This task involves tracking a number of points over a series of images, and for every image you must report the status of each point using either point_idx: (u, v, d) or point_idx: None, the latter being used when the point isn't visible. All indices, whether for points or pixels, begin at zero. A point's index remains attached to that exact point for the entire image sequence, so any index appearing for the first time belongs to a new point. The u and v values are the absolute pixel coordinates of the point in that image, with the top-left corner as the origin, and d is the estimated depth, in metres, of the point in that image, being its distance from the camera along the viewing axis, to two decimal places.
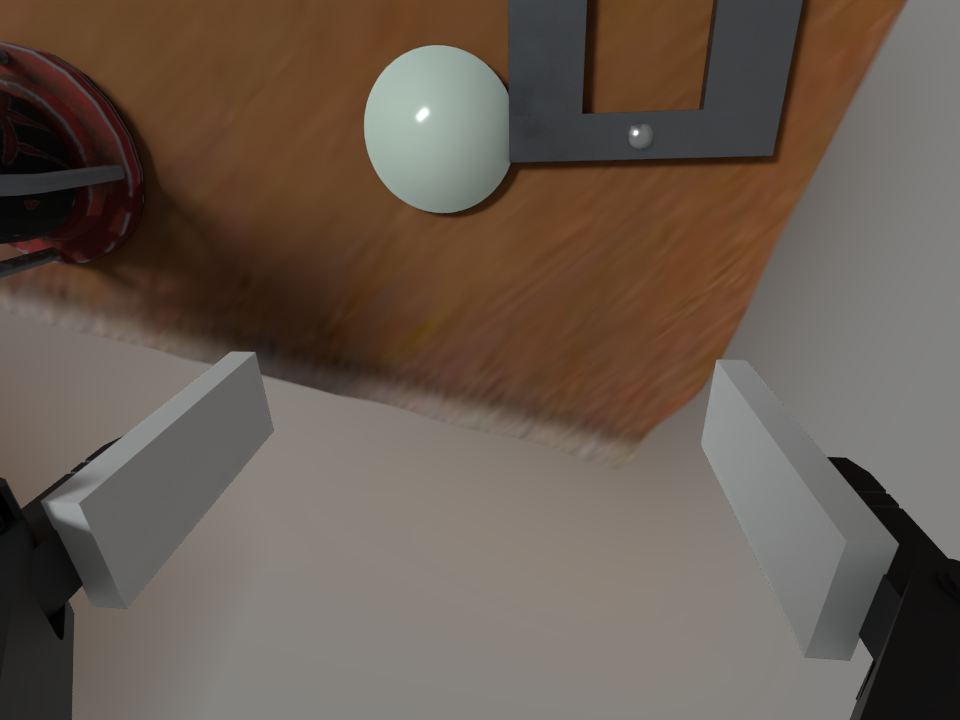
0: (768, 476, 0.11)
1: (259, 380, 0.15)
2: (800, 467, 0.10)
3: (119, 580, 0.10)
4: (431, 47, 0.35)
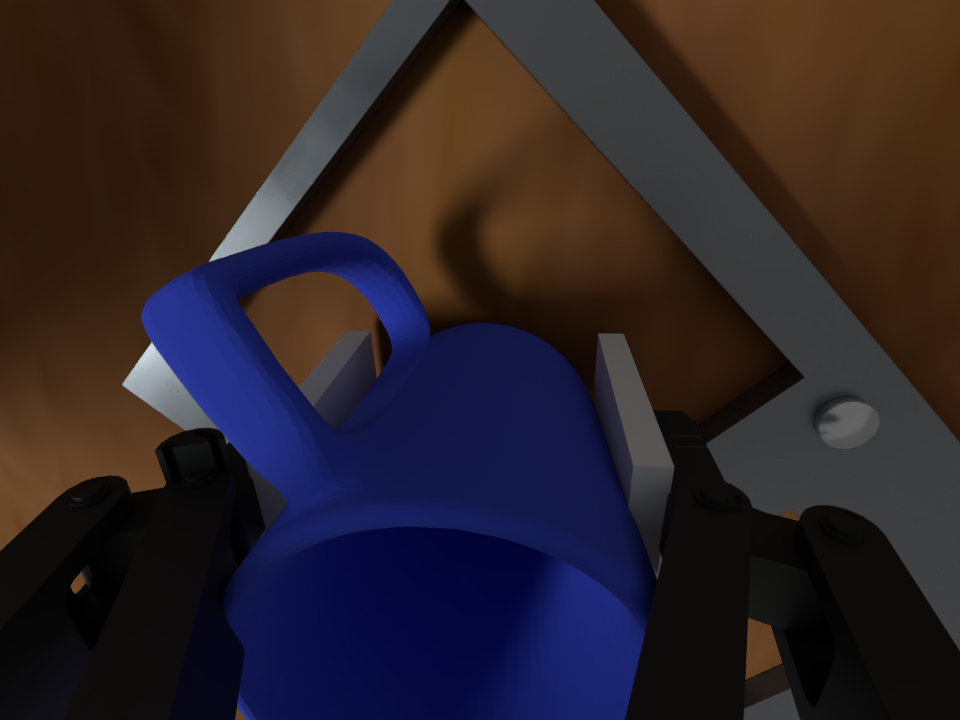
0: (612, 426, 0.13)
1: (372, 356, 0.17)
2: (626, 414, 0.12)
3: None
4: None
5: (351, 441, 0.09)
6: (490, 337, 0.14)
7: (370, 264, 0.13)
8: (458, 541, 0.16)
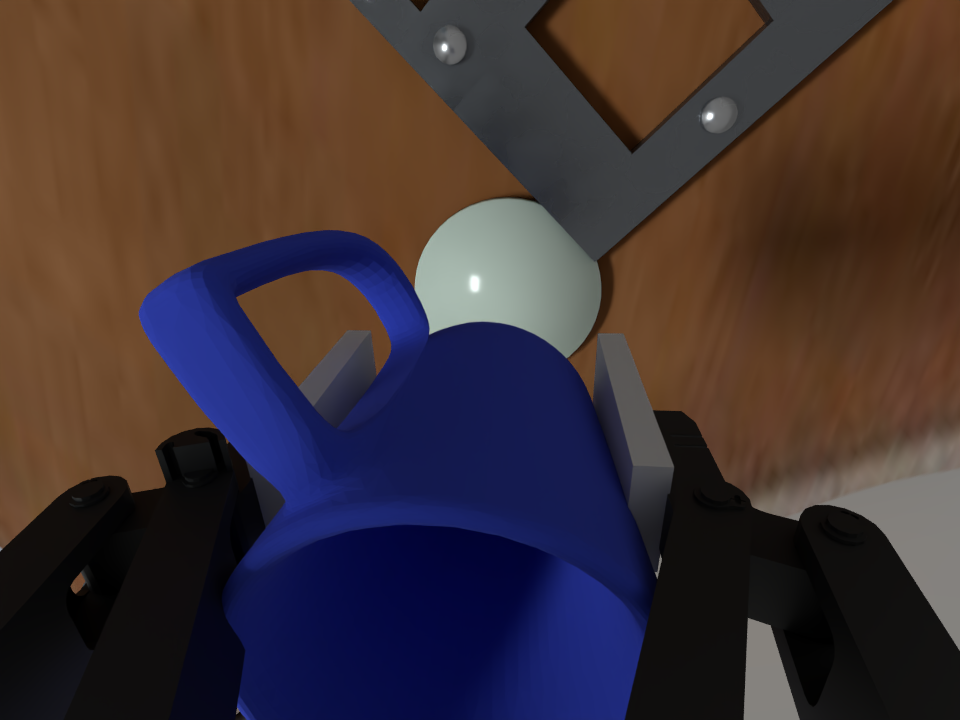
0: (612, 426, 0.13)
1: (372, 357, 0.17)
2: (626, 414, 0.12)
3: None
4: (438, 232, 0.30)
5: (349, 439, 0.09)
6: (489, 336, 0.14)
7: (370, 262, 0.13)
8: (458, 541, 0.16)
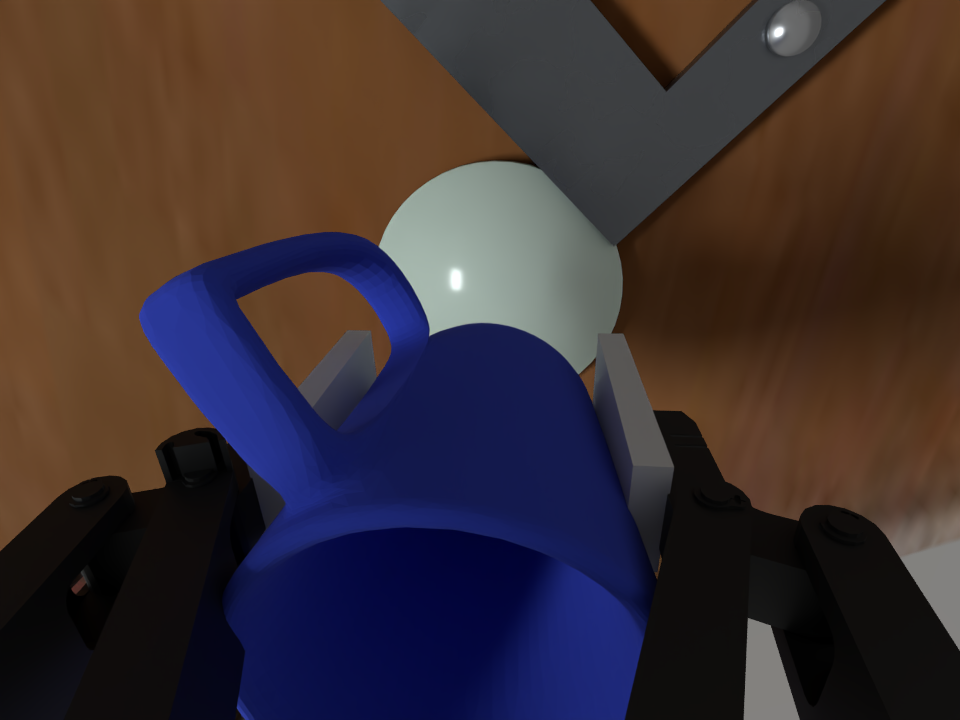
0: (612, 426, 0.13)
1: (372, 357, 0.17)
2: (626, 414, 0.12)
3: None
4: (401, 209, 0.22)
5: (349, 441, 0.09)
6: (489, 338, 0.14)
7: (370, 264, 0.13)
8: (458, 542, 0.16)
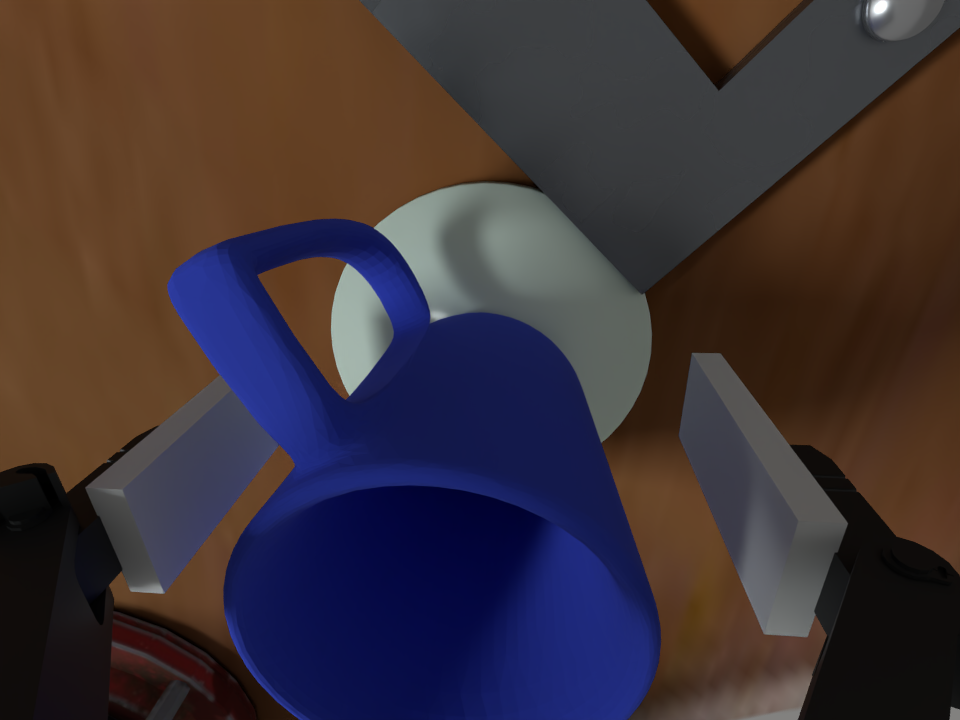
0: (734, 463, 0.11)
1: None
2: (762, 453, 0.10)
3: (157, 565, 0.11)
4: None
5: (355, 410, 0.09)
6: (487, 325, 0.15)
7: (375, 252, 0.14)
8: (452, 521, 0.17)
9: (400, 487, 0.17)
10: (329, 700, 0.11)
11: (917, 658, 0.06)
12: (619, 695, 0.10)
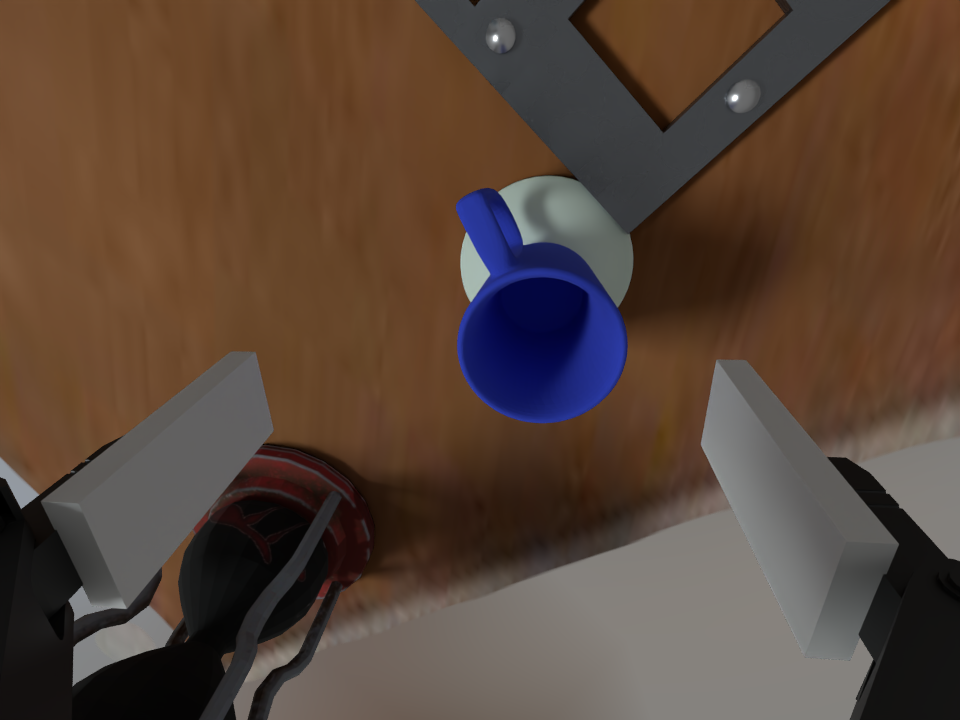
0: (768, 476, 0.11)
1: (259, 380, 0.15)
2: (800, 467, 0.10)
3: (119, 580, 0.10)
4: None
5: (514, 256, 0.25)
6: (551, 245, 0.30)
7: (500, 207, 0.30)
8: (528, 350, 0.32)
9: (502, 331, 0.32)
10: (489, 391, 0.27)
11: None
12: (611, 374, 0.26)
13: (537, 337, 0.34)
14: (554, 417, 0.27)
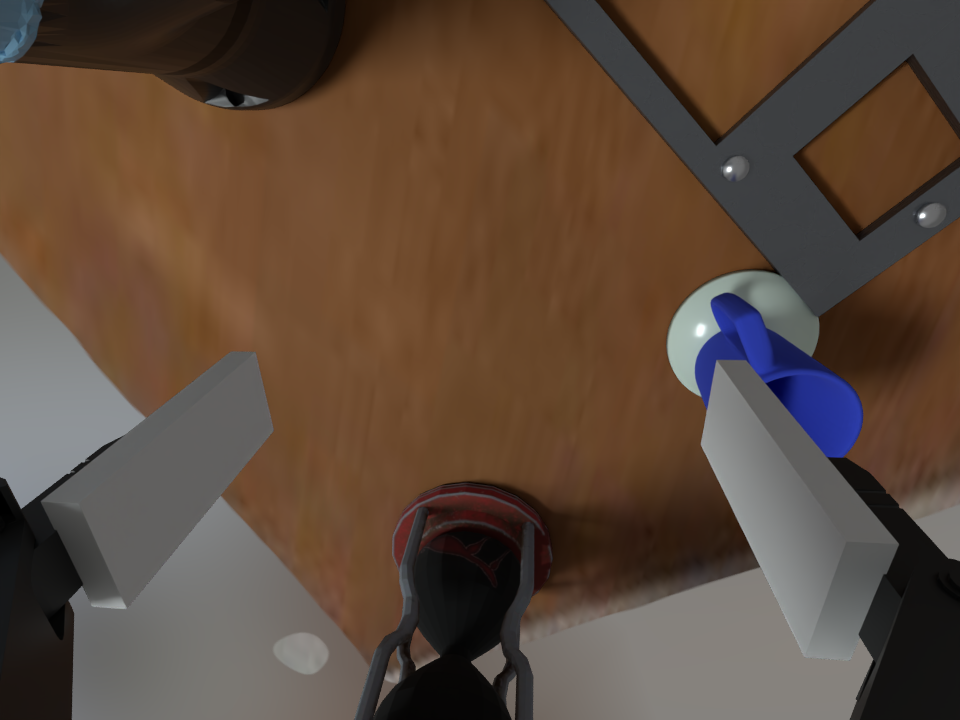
0: (768, 476, 0.11)
1: (258, 380, 0.15)
2: (800, 467, 0.10)
3: (119, 580, 0.10)
4: (696, 295, 0.39)
5: None
6: None
7: None
8: None
9: None
10: None
11: None
12: (844, 445, 0.33)
13: None
14: None
